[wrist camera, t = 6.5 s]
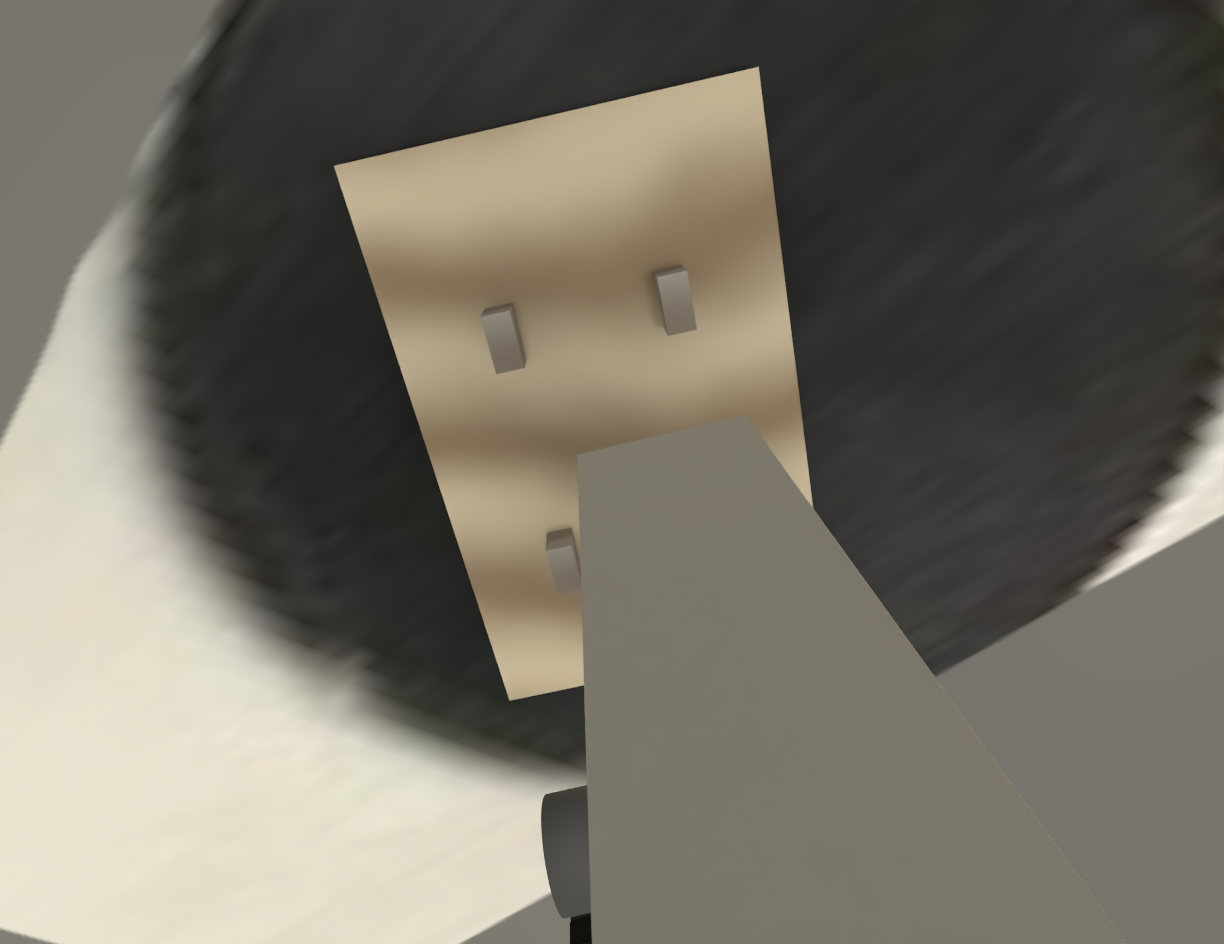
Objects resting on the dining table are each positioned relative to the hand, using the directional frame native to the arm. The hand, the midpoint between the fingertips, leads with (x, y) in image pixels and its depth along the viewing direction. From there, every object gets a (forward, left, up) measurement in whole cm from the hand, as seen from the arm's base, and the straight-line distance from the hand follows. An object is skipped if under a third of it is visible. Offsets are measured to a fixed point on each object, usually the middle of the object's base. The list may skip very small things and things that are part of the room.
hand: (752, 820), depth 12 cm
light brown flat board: (0, -1, -19) cm, 19 cm away
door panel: (+1, 0, -4) cm, 4 cm away
